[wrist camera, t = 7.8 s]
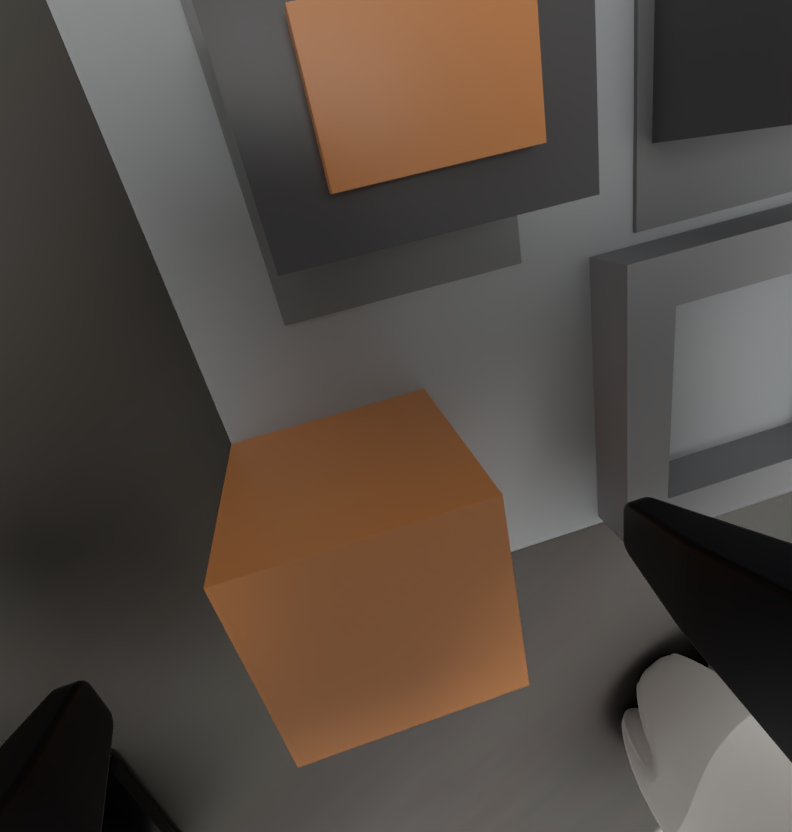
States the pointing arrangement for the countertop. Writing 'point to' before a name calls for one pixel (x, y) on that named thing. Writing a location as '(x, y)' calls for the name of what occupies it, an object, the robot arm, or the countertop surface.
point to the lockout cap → (365, 575)
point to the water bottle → (704, 754)
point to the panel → (505, 270)
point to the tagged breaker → (403, 115)
